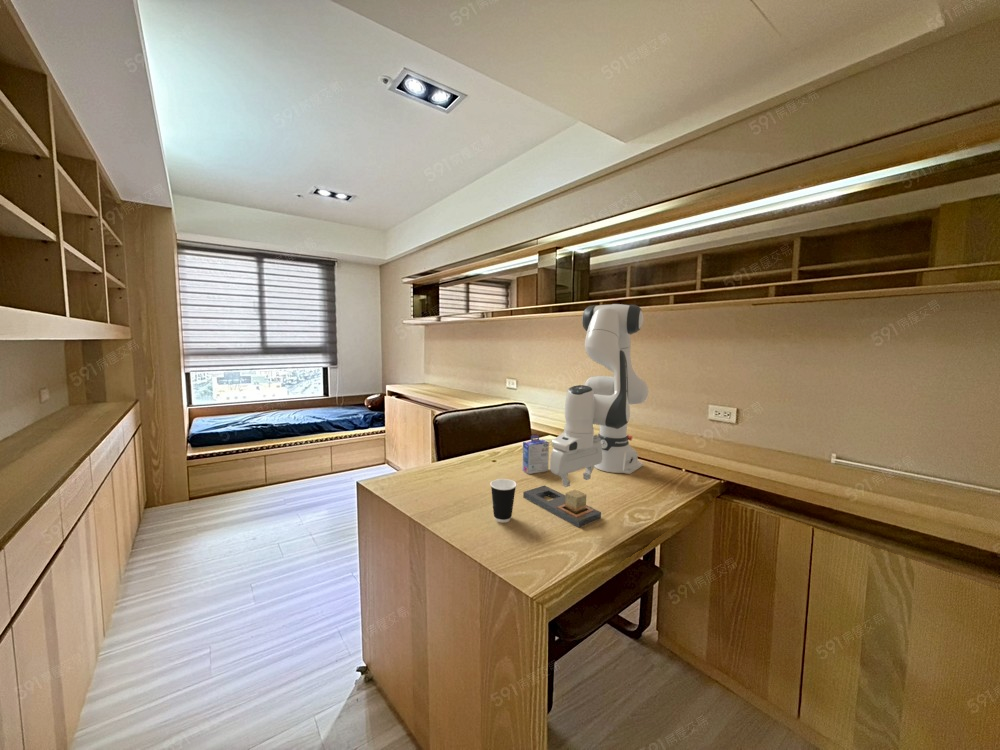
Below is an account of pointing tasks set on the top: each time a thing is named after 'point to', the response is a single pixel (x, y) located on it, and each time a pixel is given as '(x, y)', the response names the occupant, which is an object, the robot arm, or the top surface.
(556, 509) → the grey peg board
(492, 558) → the top surface
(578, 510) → the tan wooden block
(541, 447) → the ink cartridge box
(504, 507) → the dixie cup
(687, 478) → the top surface
